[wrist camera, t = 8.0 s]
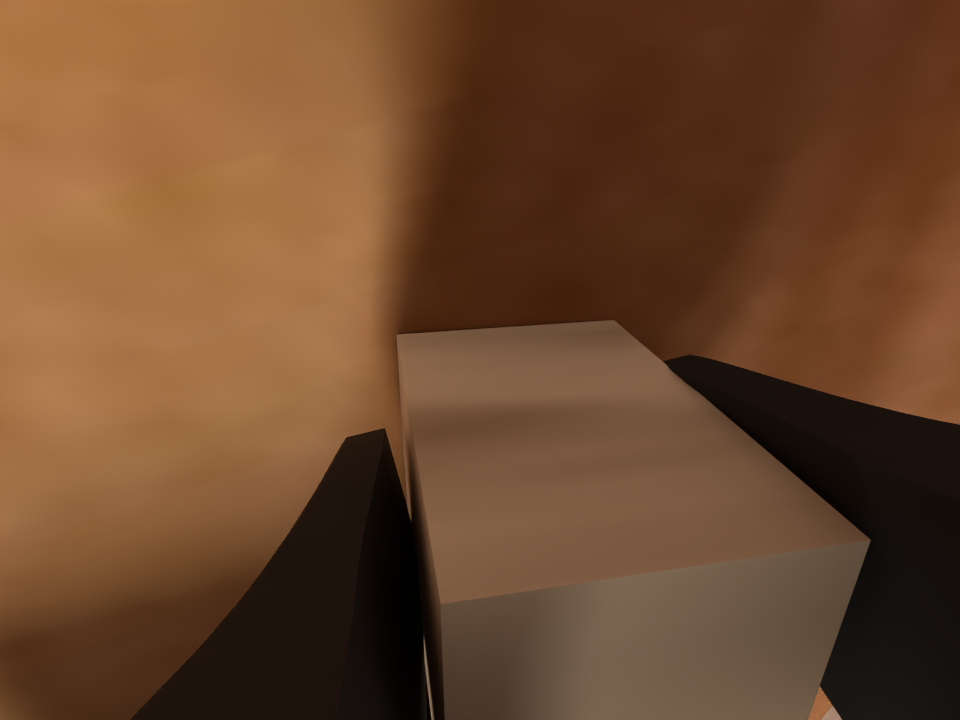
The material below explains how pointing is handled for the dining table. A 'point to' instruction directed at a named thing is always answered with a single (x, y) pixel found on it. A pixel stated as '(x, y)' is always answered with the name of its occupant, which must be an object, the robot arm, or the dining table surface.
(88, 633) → the dining table surface
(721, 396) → the robot arm
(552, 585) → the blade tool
